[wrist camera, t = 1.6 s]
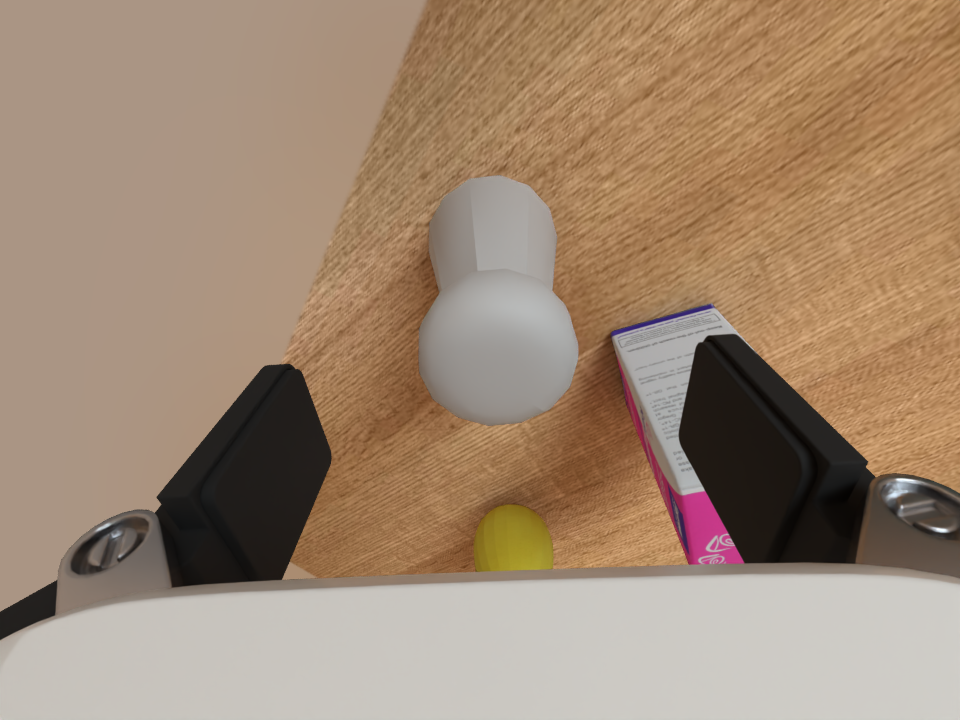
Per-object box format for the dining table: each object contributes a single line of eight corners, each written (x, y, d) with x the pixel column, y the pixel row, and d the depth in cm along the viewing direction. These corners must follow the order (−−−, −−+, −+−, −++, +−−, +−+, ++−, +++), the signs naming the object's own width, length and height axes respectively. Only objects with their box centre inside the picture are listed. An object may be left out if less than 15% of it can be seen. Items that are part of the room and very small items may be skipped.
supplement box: (604, 331, 25) (679, 491, 15) (712, 300, 24) (868, 451, 14) (621, 406, 28) (693, 580, 18) (718, 382, 26) (850, 553, 17)
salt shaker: (443, 287, 23) (405, 468, 12) (423, 175, 20) (349, 283, 9) (552, 276, 23) (611, 452, 12) (548, 159, 20) (623, 252, 9)
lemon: (450, 505, 33) (438, 649, 25) (504, 466, 31) (510, 611, 22) (511, 542, 35) (519, 685, 27) (566, 509, 33) (593, 654, 25)
